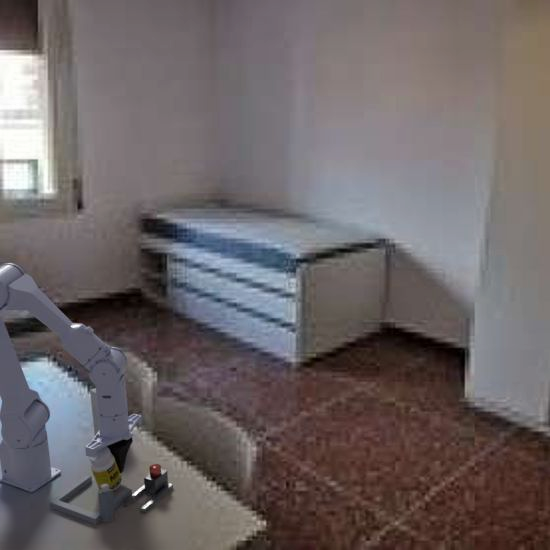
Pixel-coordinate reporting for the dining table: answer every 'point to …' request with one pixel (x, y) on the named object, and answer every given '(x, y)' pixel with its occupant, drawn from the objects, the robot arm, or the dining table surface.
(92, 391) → the skincare box
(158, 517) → the dining table surface
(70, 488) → the press bed
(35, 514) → the dining table surface
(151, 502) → the track
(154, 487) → the grey slider block
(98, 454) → the supplement bottle
